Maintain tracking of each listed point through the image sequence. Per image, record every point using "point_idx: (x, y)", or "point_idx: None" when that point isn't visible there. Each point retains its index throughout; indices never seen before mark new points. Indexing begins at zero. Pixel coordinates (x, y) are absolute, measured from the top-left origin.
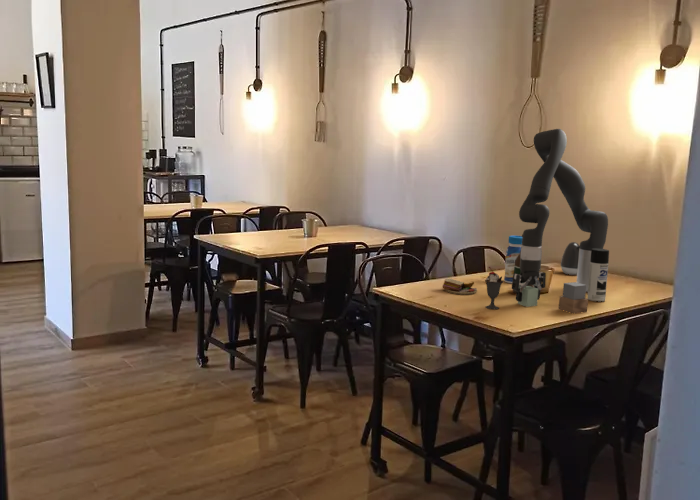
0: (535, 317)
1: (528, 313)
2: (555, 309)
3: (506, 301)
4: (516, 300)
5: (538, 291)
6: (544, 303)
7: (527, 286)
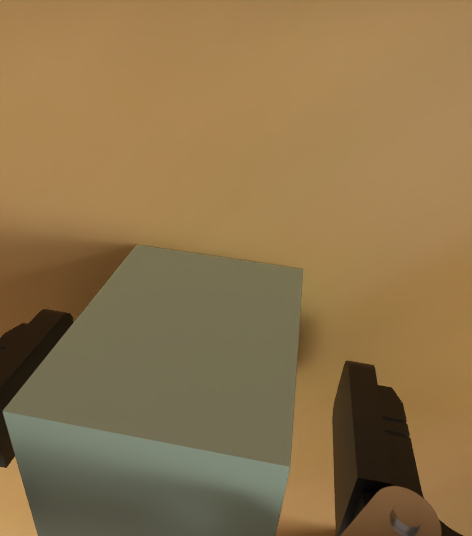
0: (7, 527)
1: (17, 471)
2: (318, 521)
3: (68, 80)
4: (46, 310)
5: (338, 522)
6: (456, 384)
7: (214, 470)
